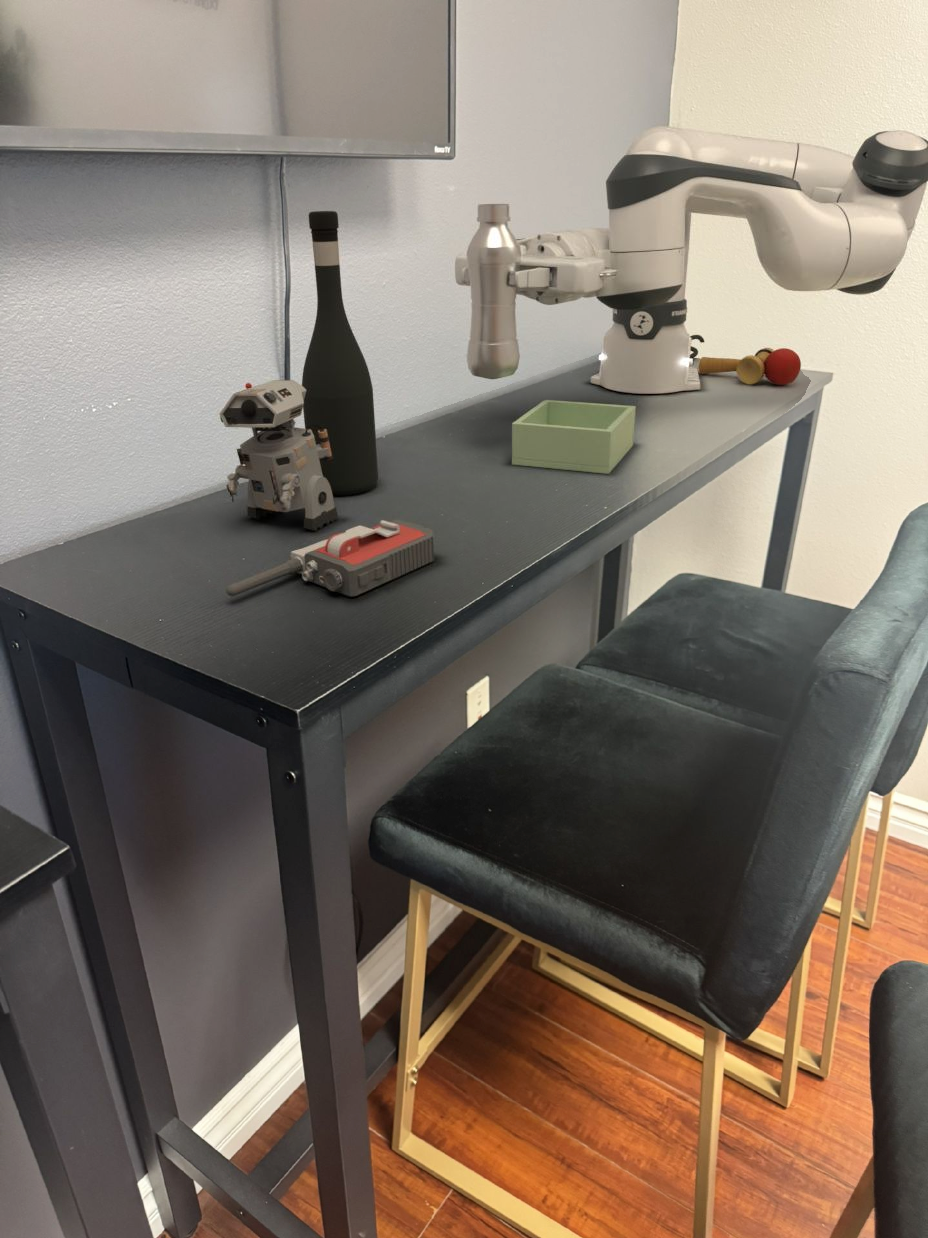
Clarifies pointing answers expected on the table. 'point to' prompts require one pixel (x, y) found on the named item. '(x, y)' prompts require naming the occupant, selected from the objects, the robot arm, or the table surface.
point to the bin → (573, 436)
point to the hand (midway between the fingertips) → (488, 277)
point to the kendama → (757, 366)
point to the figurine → (280, 454)
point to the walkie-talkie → (354, 558)
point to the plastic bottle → (493, 295)
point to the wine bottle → (338, 374)
